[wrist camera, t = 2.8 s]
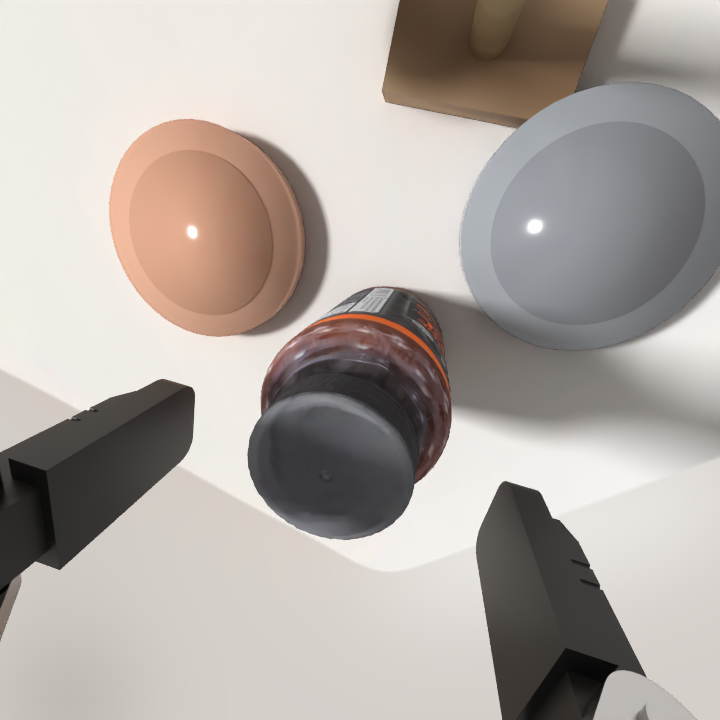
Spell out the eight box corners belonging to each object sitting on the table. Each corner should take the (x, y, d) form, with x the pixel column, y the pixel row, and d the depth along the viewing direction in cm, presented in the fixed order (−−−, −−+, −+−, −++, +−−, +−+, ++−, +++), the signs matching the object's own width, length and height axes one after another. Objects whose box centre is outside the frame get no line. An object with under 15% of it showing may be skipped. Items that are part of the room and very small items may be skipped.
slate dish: (505, 73, 14) (512, 57, 12) (776, 122, 13) (812, 111, 12) (432, 313, 17) (432, 319, 16) (638, 366, 16) (655, 376, 15)
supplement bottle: (459, 370, 18) (502, 555, 8) (358, 405, 20) (280, 593, 9) (416, 263, 17) (397, 307, 6) (311, 310, 18) (159, 407, 8)
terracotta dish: (124, 108, 17) (101, 98, 16) (320, 150, 16) (311, 143, 15) (131, 306, 20) (112, 310, 19) (290, 350, 19) (281, 358, 18)
